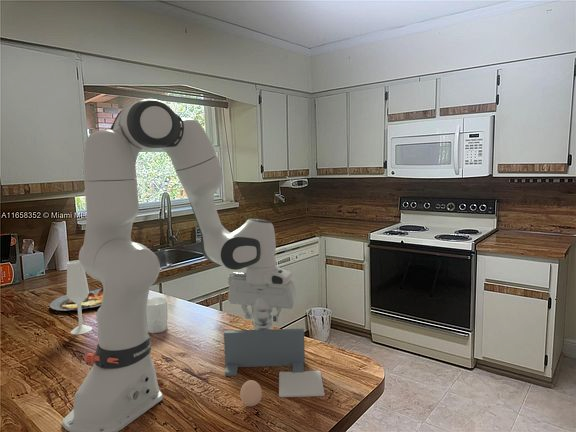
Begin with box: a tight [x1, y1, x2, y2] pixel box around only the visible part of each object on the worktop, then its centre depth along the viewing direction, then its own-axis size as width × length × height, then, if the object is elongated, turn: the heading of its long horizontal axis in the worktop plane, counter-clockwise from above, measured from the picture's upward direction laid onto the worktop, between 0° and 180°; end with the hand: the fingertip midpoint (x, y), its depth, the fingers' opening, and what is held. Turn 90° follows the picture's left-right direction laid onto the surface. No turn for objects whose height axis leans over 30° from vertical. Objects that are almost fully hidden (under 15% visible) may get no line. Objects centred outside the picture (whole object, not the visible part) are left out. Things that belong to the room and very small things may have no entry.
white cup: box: [147, 296, 169, 334], centre depth 138 cm, size 8×8×10 cm
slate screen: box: [223, 328, 306, 377], centre depth 110 cm, size 6×22×10 cm, turn 91°
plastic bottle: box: [250, 289, 274, 330], centre depth 119 cm, size 6×7×20 cm
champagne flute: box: [66, 259, 93, 335], centre depth 137 cm, size 7×7×24 cm
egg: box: [239, 379, 263, 407], centre depth 94 cm, size 5×5×6 cm
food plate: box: [49, 288, 103, 311], centre depth 166 cm, size 25×23×4 cm
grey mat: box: [278, 370, 326, 398], centre depth 103 cm, size 11×11×1 cm
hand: (262, 319), depth 119 cm, fingers open, 7 cm apart
